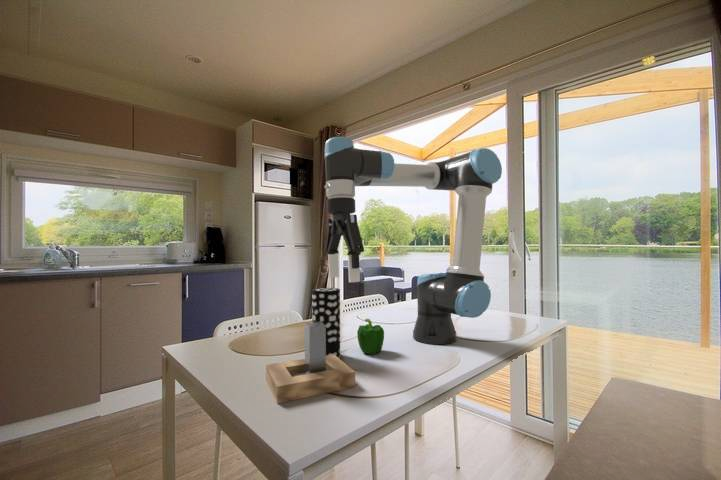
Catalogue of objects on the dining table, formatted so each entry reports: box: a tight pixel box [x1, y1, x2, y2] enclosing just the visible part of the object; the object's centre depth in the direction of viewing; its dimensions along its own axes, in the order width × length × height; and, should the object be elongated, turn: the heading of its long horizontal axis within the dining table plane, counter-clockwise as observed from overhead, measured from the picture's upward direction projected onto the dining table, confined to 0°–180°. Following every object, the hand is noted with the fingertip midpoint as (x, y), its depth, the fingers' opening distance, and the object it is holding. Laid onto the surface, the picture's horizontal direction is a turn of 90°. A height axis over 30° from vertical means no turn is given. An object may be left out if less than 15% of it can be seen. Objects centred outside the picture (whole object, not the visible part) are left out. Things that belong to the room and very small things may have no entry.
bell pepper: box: [357, 318, 385, 355], centre depth 101 cm, size 8×8×10 cm
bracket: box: [293, 321, 326, 377], centre depth 78 cm, size 7×4×14 cm, turn 115°
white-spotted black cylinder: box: [311, 287, 341, 359], centre depth 97 cm, size 8×8×20 cm
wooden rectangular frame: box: [265, 354, 356, 404], centre depth 78 cm, size 18×14×4 cm
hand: (343, 279), depth 85 cm, fingers open, 13 cm apart
